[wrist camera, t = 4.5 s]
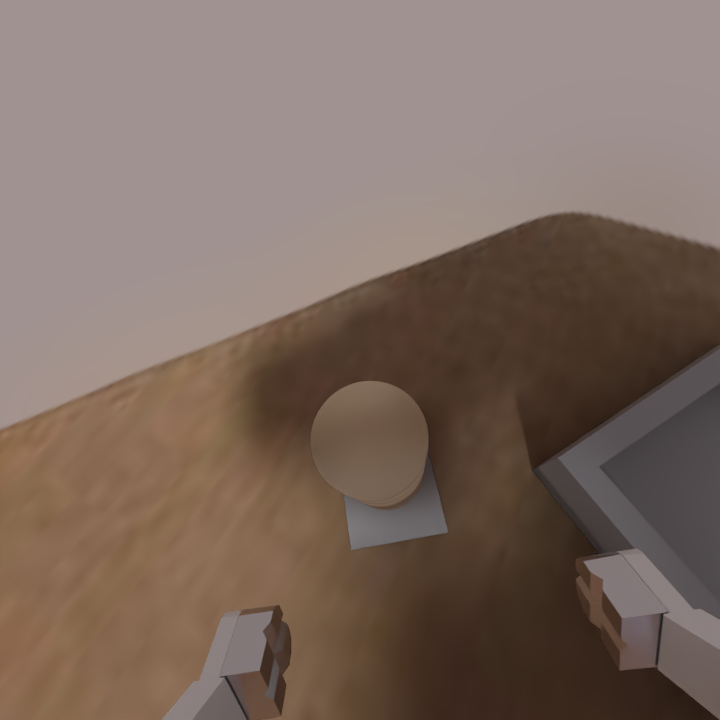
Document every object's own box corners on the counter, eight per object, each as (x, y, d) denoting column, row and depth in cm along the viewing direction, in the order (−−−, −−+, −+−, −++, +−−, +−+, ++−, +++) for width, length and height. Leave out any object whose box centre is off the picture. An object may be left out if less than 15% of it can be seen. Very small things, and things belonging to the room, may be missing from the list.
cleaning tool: (445, 532, 20) (472, 537, 11) (355, 548, 20) (306, 566, 11) (416, 409, 23) (417, 332, 14) (338, 425, 23) (288, 359, 14)
